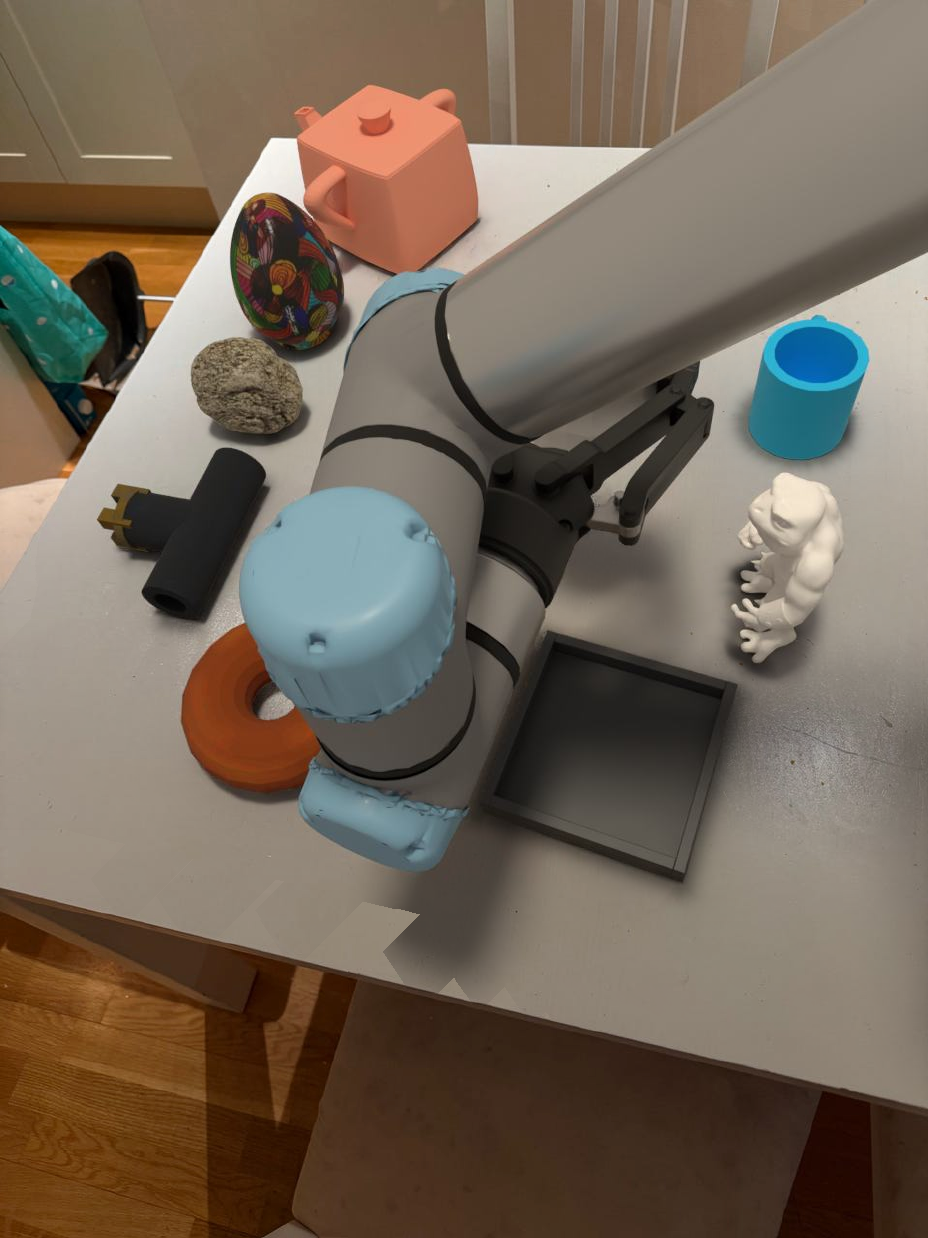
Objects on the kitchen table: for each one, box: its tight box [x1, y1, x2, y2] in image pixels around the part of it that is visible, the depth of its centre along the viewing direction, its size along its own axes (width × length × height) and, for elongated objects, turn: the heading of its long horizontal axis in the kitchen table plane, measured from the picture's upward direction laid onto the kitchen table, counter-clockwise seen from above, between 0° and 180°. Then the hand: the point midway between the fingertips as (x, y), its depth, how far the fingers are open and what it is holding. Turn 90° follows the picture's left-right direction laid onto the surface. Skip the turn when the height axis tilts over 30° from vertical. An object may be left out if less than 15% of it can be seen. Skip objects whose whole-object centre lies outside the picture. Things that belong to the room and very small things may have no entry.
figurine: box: [730, 471, 845, 664], centre depth 63 cm, size 11×7×15 cm, turn 170°
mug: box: [748, 314, 870, 461], centre depth 76 cm, size 12×8×8 cm
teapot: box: [293, 84, 479, 275], centre depth 95 cm, size 20×22×14 cm
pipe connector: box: [96, 446, 267, 620], centre depth 78 cm, size 12×5×15 cm
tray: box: [478, 629, 738, 883], centre depth 64 cm, size 15×15×2 cm
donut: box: [180, 622, 321, 794], centre depth 68 cm, size 15×15×5 cm
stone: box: [190, 336, 304, 435], centre depth 83 cm, size 6×10×10 cm, turn 75°
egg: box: [229, 192, 345, 351], centre depth 87 cm, size 11×11×15 cm
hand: (611, 307), depth 57 cm, fingers closed on cup, 10 cm apart
